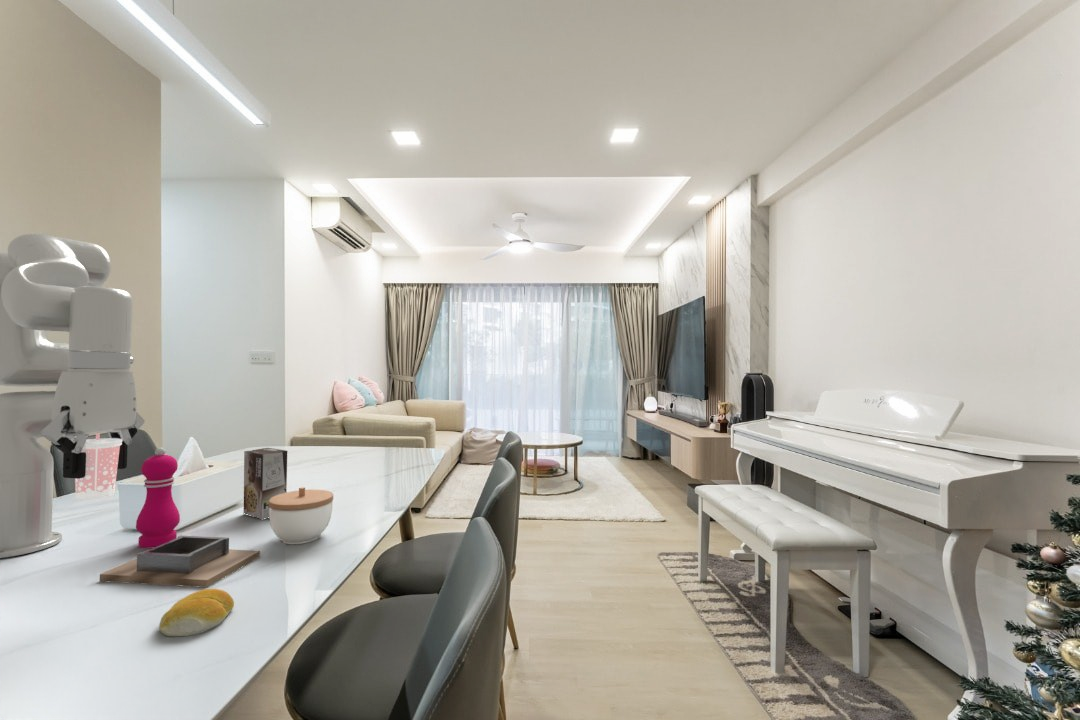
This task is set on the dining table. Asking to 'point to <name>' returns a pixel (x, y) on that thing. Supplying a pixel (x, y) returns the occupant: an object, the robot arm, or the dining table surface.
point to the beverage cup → (99, 468)
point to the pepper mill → (158, 501)
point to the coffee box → (263, 479)
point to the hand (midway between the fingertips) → (96, 471)
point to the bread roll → (196, 613)
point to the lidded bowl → (300, 515)
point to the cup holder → (183, 563)
